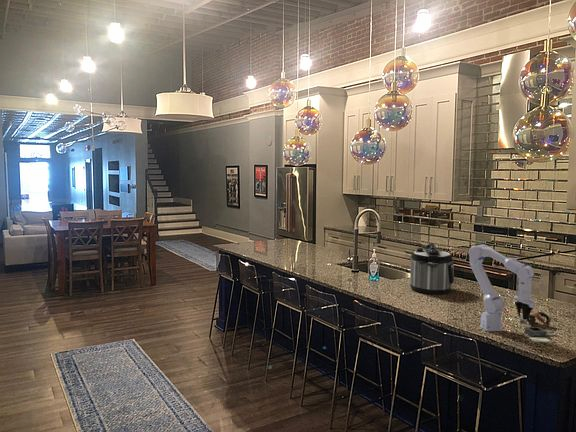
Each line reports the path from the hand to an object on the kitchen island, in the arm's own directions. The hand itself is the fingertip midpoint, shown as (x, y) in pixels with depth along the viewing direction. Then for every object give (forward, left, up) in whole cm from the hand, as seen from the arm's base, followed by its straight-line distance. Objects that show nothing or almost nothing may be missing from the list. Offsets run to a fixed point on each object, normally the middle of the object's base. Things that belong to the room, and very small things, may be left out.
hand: (523, 318), depth 234 cm
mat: (+6, -6, -9) cm, 12 cm away
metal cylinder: (0, 0, -2) cm, 2 cm away
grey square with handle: (+11, +2, -9) cm, 14 cm away
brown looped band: (+17, +15, -10) cm, 25 cm away
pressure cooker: (-10, +92, -10) cm, 93 cm away
